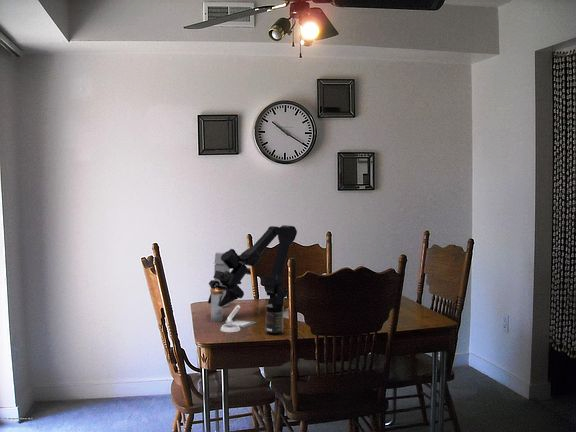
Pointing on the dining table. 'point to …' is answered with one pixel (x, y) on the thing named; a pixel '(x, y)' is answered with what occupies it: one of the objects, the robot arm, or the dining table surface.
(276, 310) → the supplement container
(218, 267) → the water bottle
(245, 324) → the pad
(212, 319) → the clear copper-topped jar
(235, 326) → the hook
